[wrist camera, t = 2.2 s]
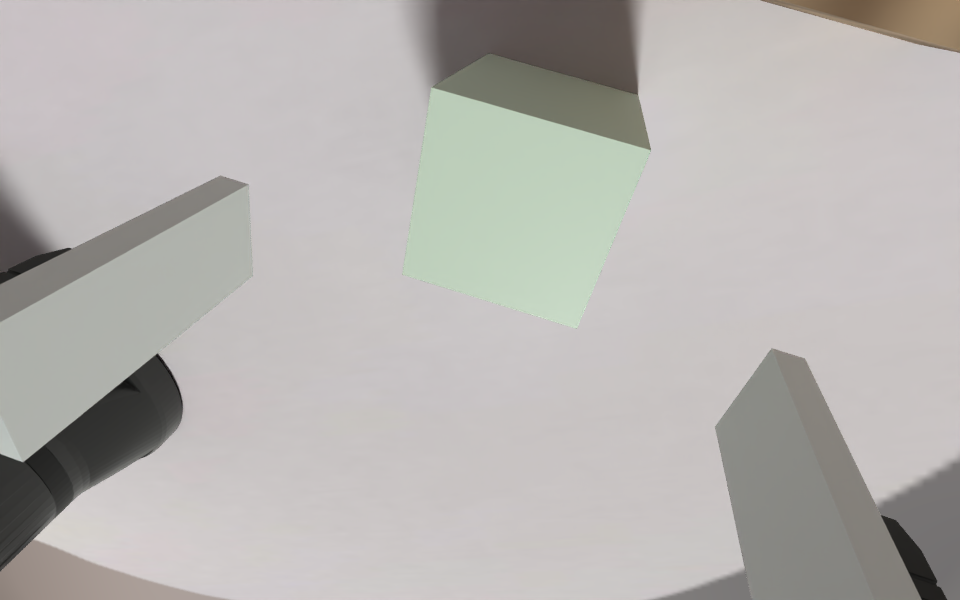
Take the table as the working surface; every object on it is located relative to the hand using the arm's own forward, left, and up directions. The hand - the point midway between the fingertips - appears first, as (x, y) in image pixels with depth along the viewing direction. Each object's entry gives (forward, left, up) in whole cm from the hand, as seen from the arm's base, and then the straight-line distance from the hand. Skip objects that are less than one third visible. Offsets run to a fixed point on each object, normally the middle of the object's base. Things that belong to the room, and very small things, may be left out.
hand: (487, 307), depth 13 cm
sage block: (0, 0, -15) cm, 15 cm away
